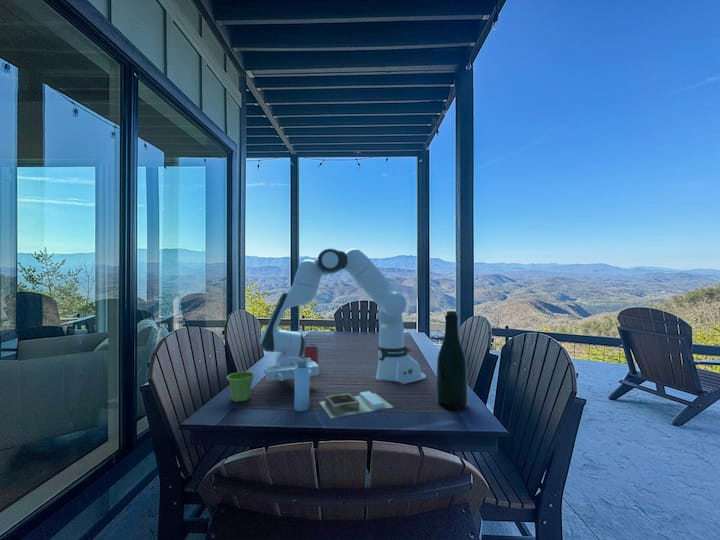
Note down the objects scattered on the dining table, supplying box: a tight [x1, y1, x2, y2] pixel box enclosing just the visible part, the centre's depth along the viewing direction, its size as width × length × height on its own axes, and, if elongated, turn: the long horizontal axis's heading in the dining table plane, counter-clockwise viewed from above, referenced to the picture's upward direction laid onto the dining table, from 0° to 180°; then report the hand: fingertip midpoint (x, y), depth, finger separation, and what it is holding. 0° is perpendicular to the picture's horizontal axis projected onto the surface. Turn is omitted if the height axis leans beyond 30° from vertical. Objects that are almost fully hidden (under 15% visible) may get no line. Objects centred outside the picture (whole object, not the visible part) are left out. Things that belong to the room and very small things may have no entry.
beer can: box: [303, 343, 319, 365], centre depth 155 cm, size 7×7×12 cm
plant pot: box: [226, 371, 255, 403], centre depth 118 cm, size 9×9×9 cm
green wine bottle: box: [436, 310, 469, 412], centre depth 112 cm, size 10×10×33 cm
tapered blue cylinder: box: [293, 360, 310, 412], centre depth 110 cm, size 5×5×16 cm
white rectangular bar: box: [359, 390, 384, 409], centre depth 112 cm, size 4×12×2 cm, turn 23°
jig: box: [318, 392, 394, 419], centre depth 109 cm, size 22×14×4 cm, turn 113°
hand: (296, 377), depth 118 cm, fingers open, 8 cm apart
